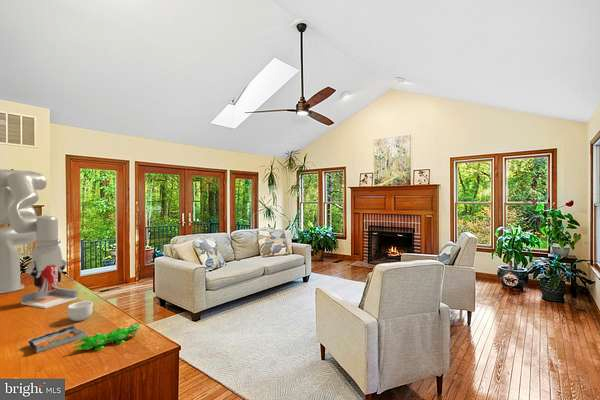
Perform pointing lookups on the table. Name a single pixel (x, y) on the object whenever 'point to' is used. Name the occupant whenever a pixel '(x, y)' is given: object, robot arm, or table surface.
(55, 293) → the open box
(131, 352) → the table surface
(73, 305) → the teacup
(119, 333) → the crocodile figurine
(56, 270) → the soda can
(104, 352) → the table surface
